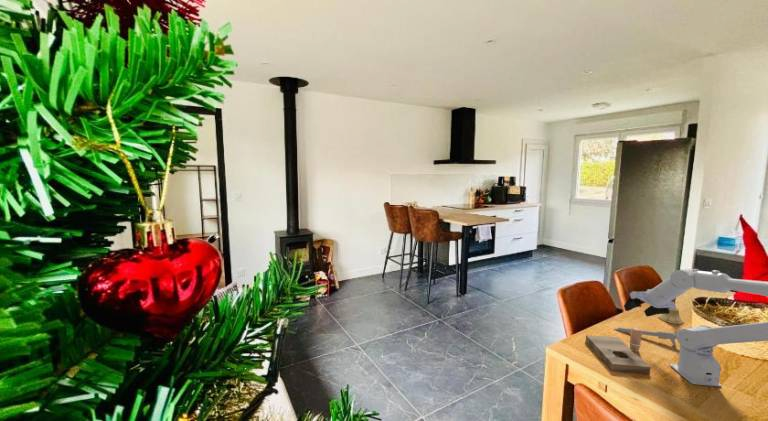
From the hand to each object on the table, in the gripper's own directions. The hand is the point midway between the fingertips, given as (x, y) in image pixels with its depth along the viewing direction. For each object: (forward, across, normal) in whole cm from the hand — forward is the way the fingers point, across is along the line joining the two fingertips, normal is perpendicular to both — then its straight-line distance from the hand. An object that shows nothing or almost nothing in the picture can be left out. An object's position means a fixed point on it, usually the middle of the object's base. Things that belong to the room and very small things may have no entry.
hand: (635, 311), depth 118 cm
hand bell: (+16, -32, -13) cm, 38 cm away
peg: (+7, 0, +12) cm, 14 cm away
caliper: (+11, -11, +3) cm, 16 cm away
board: (+6, +9, +17) cm, 20 cm away
